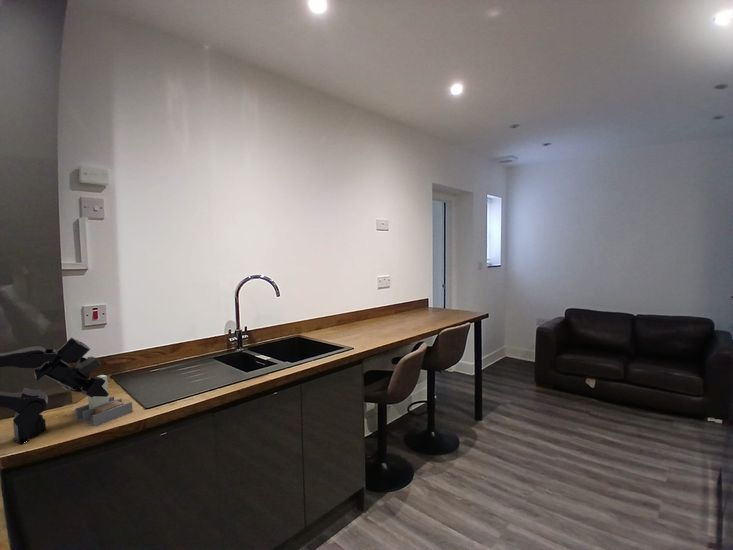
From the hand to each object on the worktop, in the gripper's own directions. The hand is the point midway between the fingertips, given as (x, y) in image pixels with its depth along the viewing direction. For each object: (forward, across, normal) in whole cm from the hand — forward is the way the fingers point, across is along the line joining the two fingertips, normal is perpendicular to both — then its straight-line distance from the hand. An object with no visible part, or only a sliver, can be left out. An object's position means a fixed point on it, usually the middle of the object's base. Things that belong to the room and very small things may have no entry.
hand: (102, 393), depth 132 cm
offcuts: (+4, -6, +6) cm, 9 cm away
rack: (+4, -3, +6) cm, 8 cm away
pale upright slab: (+4, 0, +6) cm, 7 cm away
